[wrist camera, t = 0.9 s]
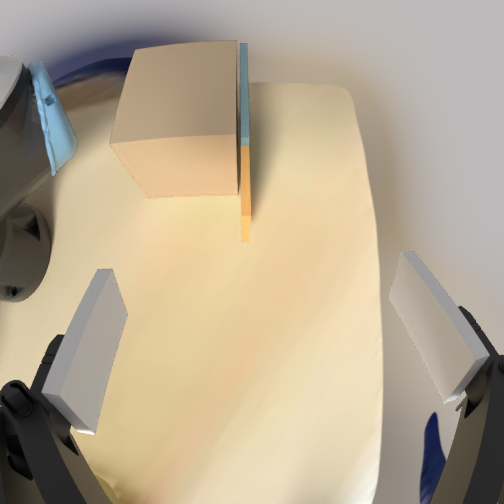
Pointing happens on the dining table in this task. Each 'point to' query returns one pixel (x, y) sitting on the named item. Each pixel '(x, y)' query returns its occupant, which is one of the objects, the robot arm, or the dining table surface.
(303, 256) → the dining table surface
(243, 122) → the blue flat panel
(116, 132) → the kraft box
